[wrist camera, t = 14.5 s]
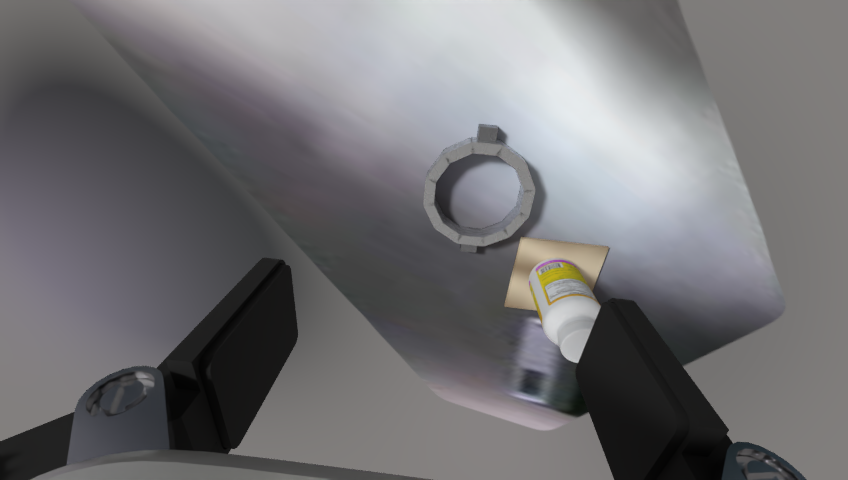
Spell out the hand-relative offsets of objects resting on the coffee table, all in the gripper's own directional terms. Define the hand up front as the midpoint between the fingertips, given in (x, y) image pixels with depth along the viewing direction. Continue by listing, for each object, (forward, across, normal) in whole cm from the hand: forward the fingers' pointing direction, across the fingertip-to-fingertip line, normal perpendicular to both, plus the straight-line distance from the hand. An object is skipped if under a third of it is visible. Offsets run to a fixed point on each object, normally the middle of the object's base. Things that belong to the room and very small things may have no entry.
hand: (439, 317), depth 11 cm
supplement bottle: (+32, -16, +18) cm, 40 cm away
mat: (+32, -16, +18) cm, 40 cm away
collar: (+32, -4, +7) cm, 33 cm away
